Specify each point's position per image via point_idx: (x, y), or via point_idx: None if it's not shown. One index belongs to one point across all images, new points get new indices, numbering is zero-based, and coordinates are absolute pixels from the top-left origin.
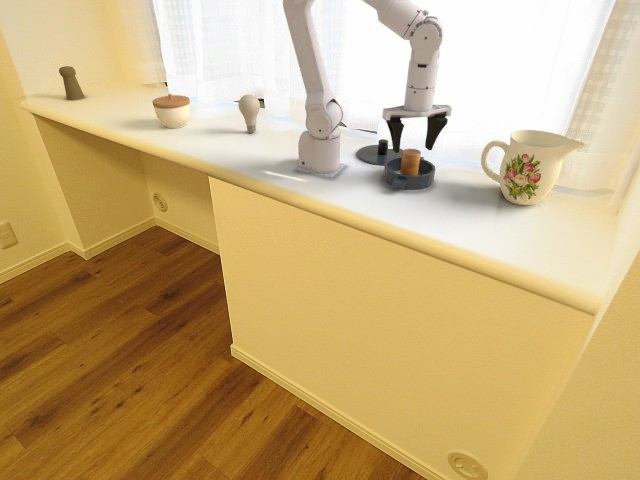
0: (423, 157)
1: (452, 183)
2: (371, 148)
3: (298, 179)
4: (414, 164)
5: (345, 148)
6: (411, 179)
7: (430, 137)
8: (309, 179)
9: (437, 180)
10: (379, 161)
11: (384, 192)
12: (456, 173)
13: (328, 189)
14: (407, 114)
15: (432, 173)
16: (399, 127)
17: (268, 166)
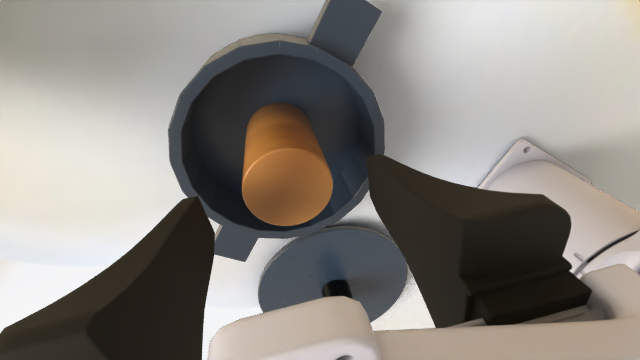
0: None
1: (98, 117)
2: None
3: (606, 130)
4: (272, 131)
5: (416, 313)
6: (291, 40)
7: (185, 254)
8: (578, 131)
9: (162, 141)
10: (356, 241)
11: (383, 34)
12: (83, 200)
13: (557, 61)
14: (491, 335)
15: (185, 88)
16: (489, 207)
17: (637, 202)
